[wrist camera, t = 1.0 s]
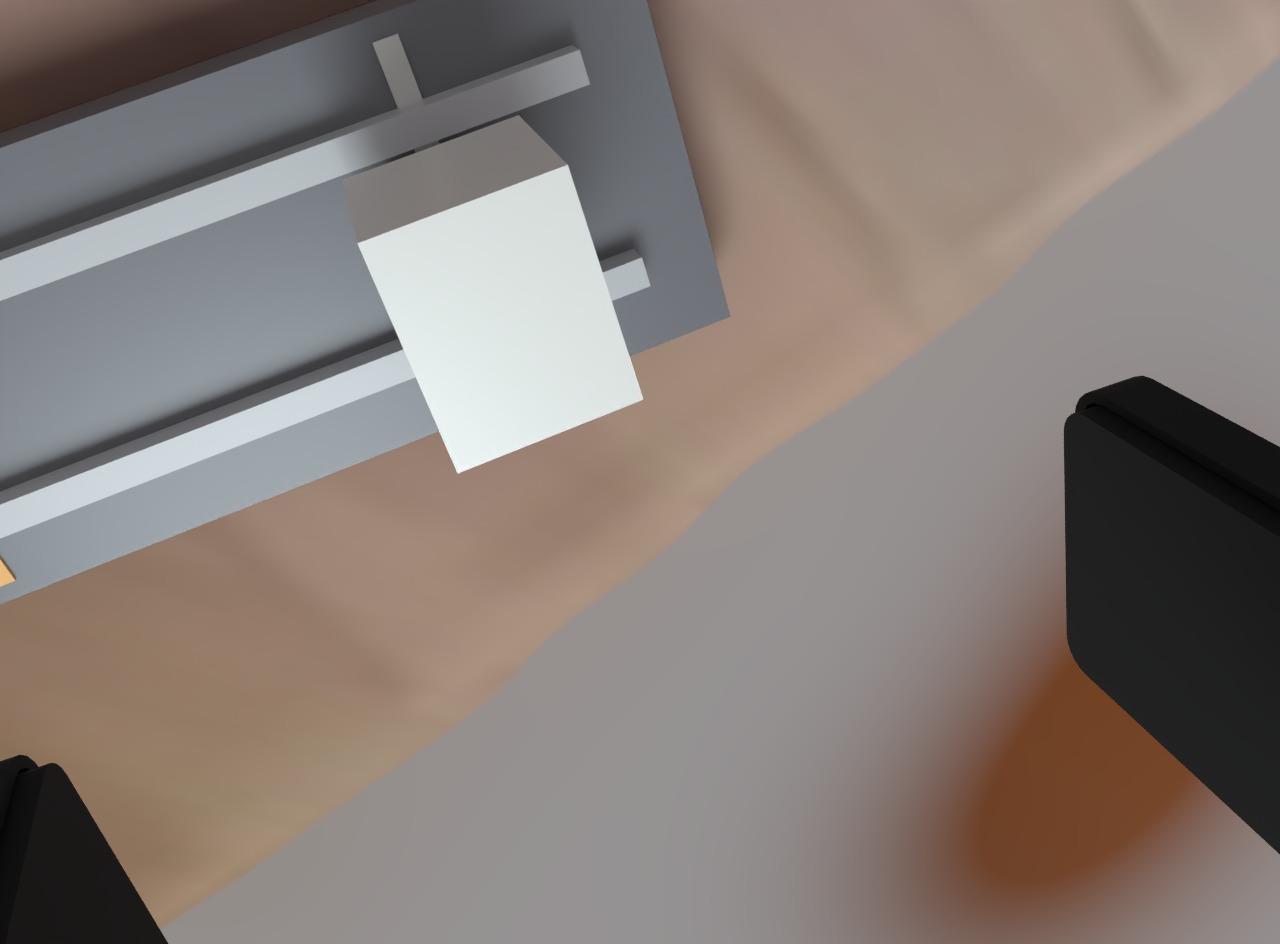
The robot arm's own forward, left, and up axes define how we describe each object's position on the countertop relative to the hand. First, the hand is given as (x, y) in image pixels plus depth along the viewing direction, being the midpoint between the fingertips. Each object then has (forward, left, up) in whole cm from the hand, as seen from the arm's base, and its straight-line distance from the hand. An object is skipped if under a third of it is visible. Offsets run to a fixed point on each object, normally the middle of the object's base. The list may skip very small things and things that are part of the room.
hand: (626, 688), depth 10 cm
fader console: (+7, +1, -22) cm, 24 cm away
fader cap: (-1, +1, -20) cm, 20 cm away
